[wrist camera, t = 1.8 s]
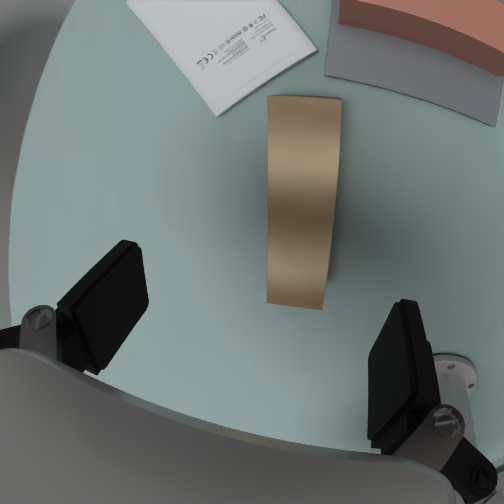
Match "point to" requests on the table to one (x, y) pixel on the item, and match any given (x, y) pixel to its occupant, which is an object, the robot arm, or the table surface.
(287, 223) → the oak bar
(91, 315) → the robot arm
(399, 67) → the fulcrum board
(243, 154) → the table surface
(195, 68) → the external hard drive
